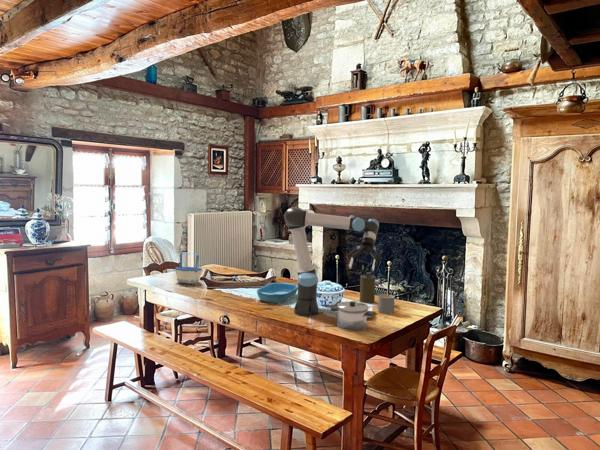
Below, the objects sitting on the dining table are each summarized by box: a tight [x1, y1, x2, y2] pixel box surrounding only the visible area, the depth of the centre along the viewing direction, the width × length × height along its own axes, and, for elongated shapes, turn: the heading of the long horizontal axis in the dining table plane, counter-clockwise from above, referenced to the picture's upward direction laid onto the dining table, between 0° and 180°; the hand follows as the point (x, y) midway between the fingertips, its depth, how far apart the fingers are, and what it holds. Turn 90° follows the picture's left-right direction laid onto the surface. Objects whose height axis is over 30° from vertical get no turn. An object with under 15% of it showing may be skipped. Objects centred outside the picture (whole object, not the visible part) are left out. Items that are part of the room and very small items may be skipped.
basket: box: [174, 251, 203, 285], centre depth 330 cm, size 21×16×24 cm
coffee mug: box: [377, 293, 395, 315], centre depth 265 cm, size 13×10×10 cm
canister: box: [359, 271, 377, 304], centre depth 288 cm, size 11×10×20 cm
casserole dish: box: [256, 282, 298, 304], centre depth 292 cm, size 37×22×7 cm, turn 159°
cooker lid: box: [336, 300, 369, 313], centre depth 231 cm, size 17×18×4 cm
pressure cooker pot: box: [330, 305, 375, 332], centre depth 231 cm, size 23×16×10 cm
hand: (361, 268), depth 244 cm, fingers open, 13 cm apart
